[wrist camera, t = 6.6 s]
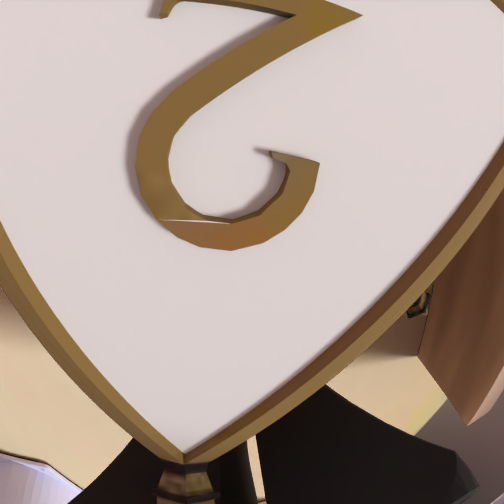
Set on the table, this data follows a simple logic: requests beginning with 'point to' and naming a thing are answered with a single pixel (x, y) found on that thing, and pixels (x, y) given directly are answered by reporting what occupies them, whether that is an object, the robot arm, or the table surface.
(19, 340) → the table surface
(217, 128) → the game die
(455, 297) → the l-shaped bracket
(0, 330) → the table surface
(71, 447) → the table surface
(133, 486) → the robot arm
